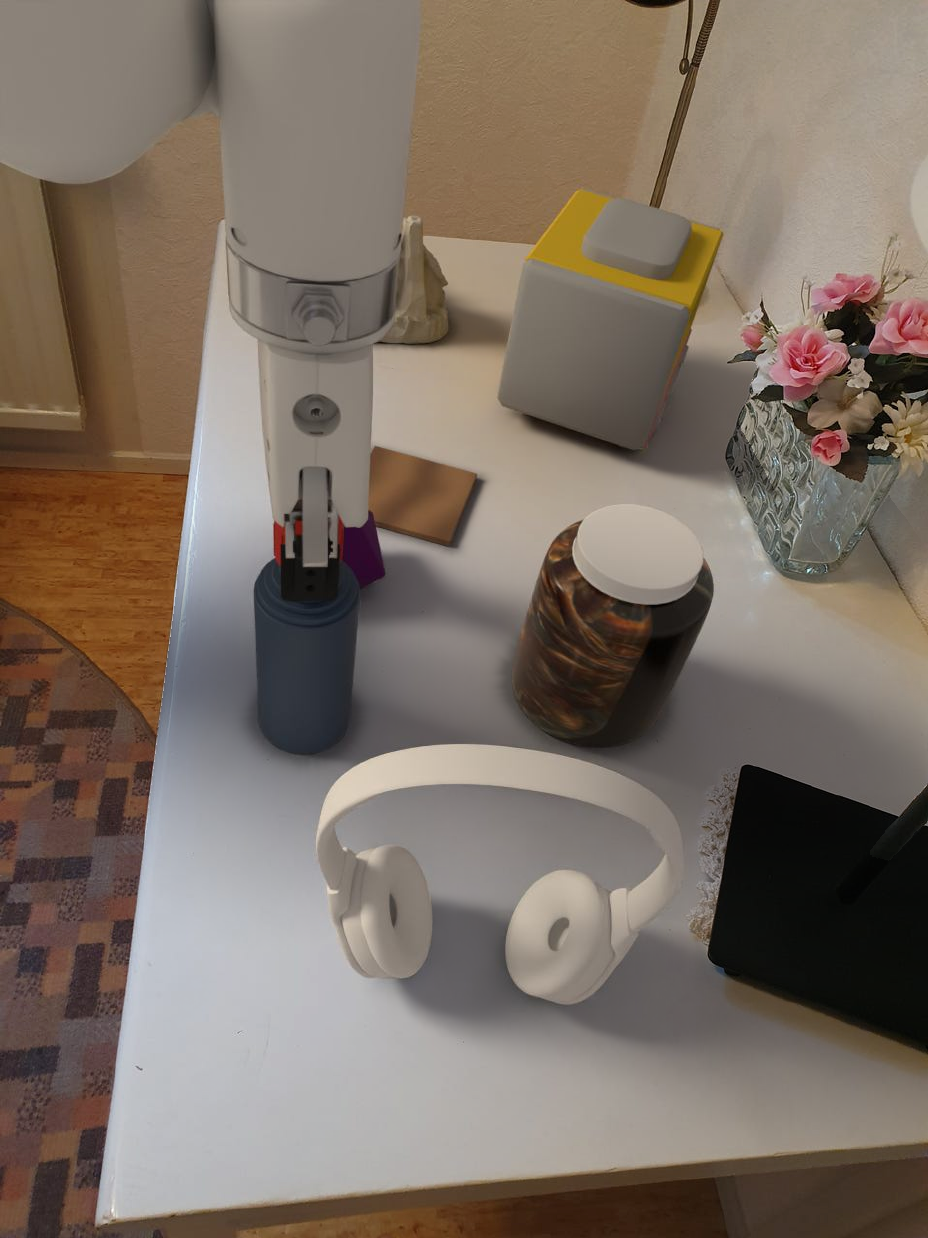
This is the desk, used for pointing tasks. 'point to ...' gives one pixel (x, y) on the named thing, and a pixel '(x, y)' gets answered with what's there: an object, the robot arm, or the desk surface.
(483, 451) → the desk surface
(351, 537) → the perfume bottle
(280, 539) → the cap
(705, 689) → the desk surface
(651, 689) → the jar
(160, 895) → the desk surface
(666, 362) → the alarm clock
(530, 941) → the headphones
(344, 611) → the water bottle
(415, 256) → the beige rough towered piece
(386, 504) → the coaster
